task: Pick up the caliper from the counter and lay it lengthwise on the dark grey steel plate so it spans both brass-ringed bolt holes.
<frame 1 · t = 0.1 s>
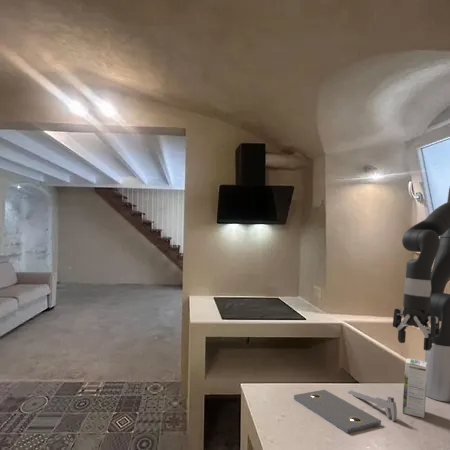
hand: (413, 346, 121), 17 cm above the worktop, tool pointing down, fingers open, 8 cm apart
caliper: (370, 407, 117), on the worktop
syrup box: (414, 413, 114), on the worktop
hole plate: (334, 411, 111), on the worktop
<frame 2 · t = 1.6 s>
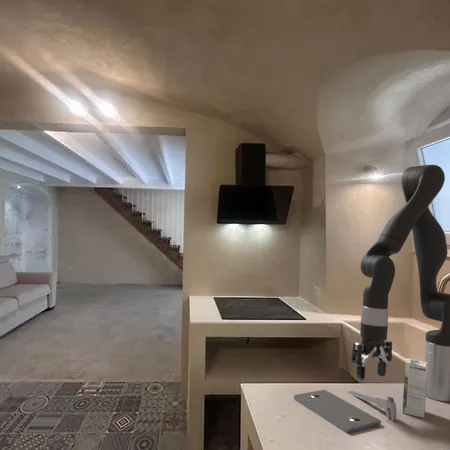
hand: (371, 377, 116), 9 cm above the worktop, tool pointing down, fingers open, 8 cm apart
nothing on the worktop moved.
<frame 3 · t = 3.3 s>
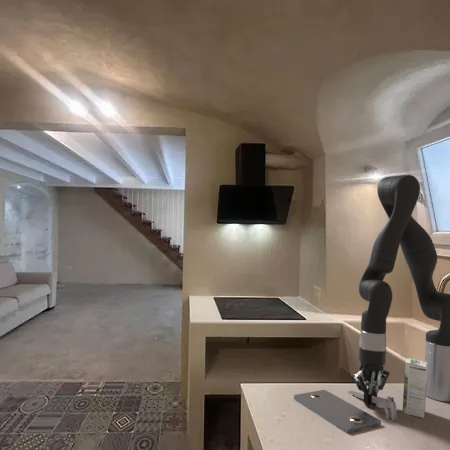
hand: (370, 404, 117), 0 cm above the worktop, tool pointing down, fingers closed on caliper, 1 cm apart
caliper: (369, 407, 117), on the worktop, touching gripper
everything else where it was.
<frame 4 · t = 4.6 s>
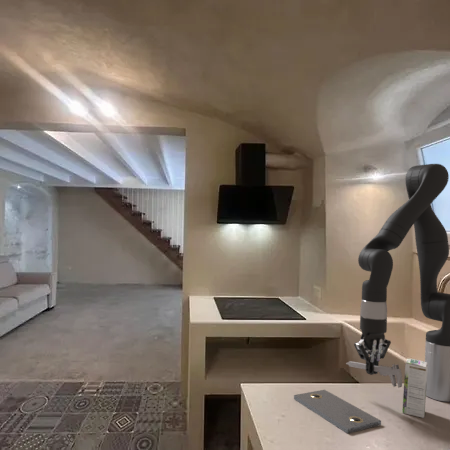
hand: (371, 373, 117), 9 cm above the worktop, tool pointing down, fingers closed on caliper, 1 cm apart
caliper: (371, 376, 117), point 8 cm above the worktop, touching gripper
everything else where it was.
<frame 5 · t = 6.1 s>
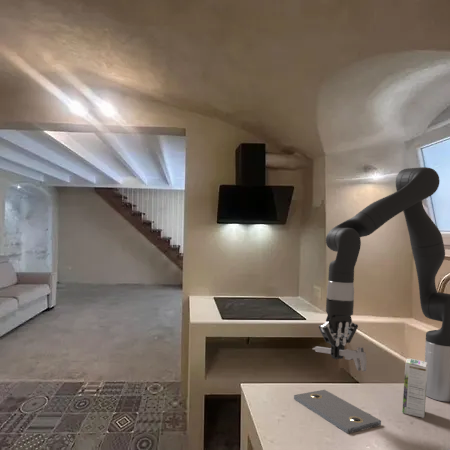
hand: (337, 358, 112), 15 cm above the worktop, tool pointing down, fingers closed on caliper, 1 cm apart
caliper: (336, 361, 112), point 14 cm above the worktop, touching gripper
everything else where it was.
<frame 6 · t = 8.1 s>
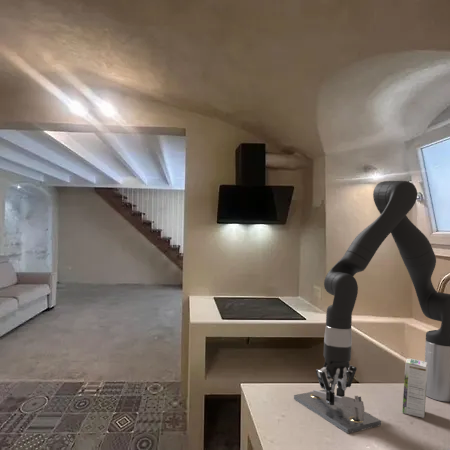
hand: (335, 403, 112), 2 cm above the worktop, tool pointing down, fingers open, 3 cm apart
caliper: (334, 407, 112), point 1 cm above the worktop, touching hole plate
everything else where it was.
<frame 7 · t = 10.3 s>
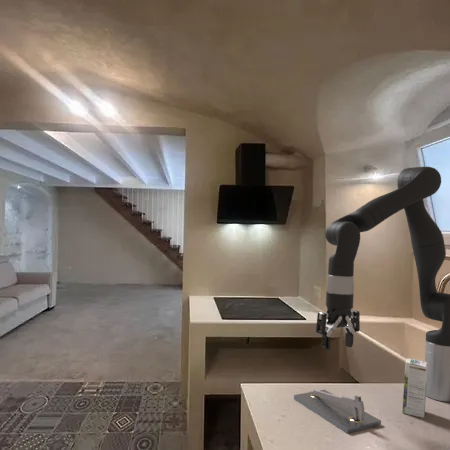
hand: (337, 348, 112), 18 cm above the worktop, tool pointing down, fingers open, 8 cm apart
nothing on the worktop moved.
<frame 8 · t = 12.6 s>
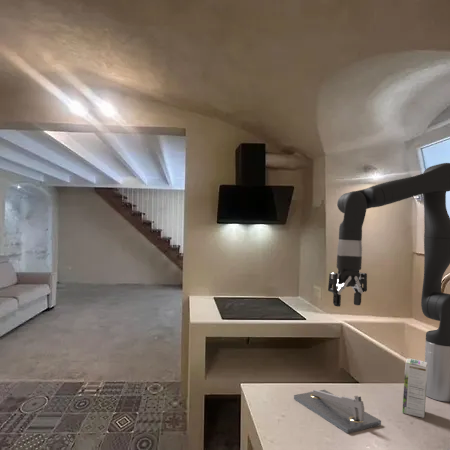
hand: (347, 305, 124), 28 cm above the worktop, tool pointing down, fingers open, 8 cm apart
nothing on the worktop moved.
at the end: caliper 0.1 cm off-centre on the hole plate, point 1.0 cm above the hole plate's base; caliper tilted 1°; the gripper is holding nothing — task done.
